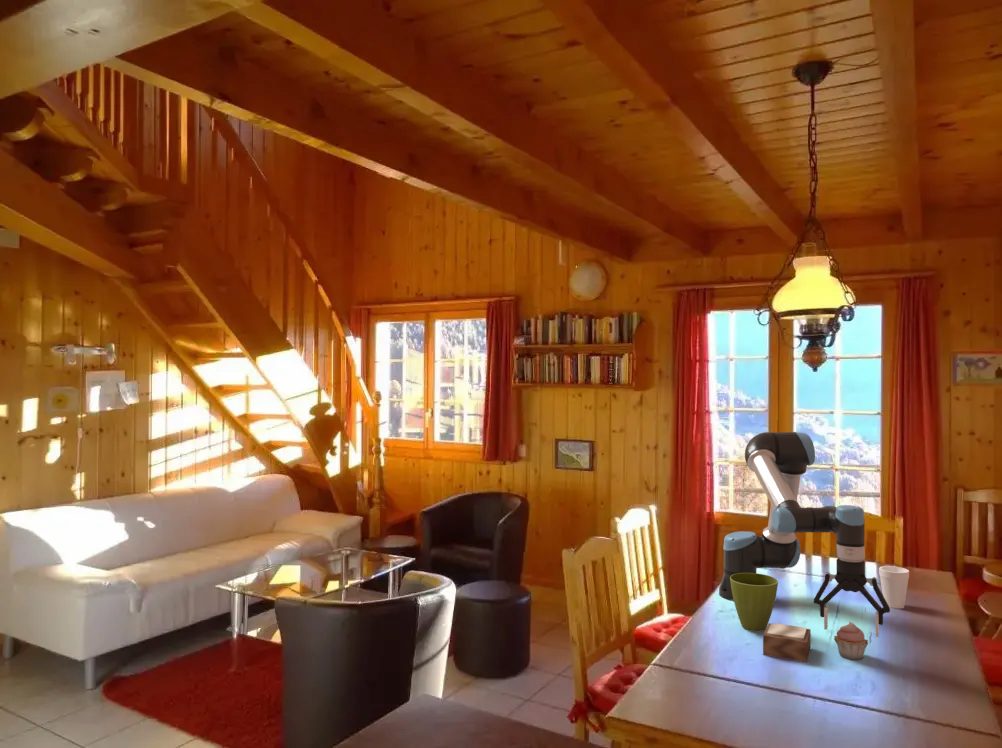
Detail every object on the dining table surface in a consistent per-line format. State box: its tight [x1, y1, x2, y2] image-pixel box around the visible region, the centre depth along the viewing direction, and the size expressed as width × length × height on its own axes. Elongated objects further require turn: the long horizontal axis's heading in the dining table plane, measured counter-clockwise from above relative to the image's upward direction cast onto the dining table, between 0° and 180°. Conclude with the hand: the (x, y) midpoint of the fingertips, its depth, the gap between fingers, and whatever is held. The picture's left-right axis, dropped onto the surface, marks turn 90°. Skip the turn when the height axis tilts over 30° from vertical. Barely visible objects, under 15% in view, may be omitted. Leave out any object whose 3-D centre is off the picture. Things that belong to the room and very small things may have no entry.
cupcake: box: [833, 621, 869, 660], centre depth 216 cm, size 9×9×10 cm
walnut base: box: [762, 622, 812, 663], centre depth 219 cm, size 12×12×6 cm
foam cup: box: [878, 565, 910, 610], centre depth 262 cm, size 10×9×13 cm
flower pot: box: [730, 572, 779, 632], centre depth 240 cm, size 15×15×16 cm
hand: (851, 631), depth 215 cm, fingers open, 13 cm apart
